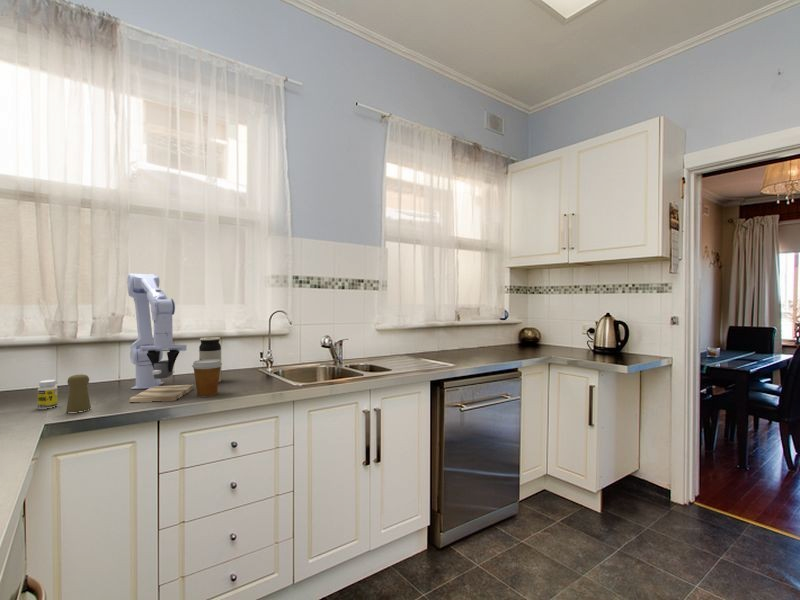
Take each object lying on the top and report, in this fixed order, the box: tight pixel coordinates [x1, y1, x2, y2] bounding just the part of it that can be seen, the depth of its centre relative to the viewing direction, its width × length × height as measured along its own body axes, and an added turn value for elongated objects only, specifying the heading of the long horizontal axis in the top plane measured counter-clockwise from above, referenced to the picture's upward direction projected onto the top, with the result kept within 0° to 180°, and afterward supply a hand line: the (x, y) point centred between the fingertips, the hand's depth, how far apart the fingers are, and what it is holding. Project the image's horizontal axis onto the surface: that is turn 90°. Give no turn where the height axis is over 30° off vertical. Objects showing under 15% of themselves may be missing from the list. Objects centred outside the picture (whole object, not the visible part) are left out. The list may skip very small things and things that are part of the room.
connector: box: [152, 359, 174, 380], centre depth 140 cm, size 11×4×5 cm, turn 10°
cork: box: [65, 373, 92, 413], centre depth 123 cm, size 6×6×11 cm
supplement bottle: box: [37, 379, 59, 410], centre depth 127 cm, size 5×5×8 cm
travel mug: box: [198, 336, 222, 383], centre depth 163 cm, size 8×8×18 cm
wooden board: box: [129, 384, 195, 403], centre depth 142 cm, size 18×14×2 cm
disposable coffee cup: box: [191, 359, 223, 397], centre depth 142 cm, size 10×10×12 cm
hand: (163, 371), depth 142 cm, fingers closed on connector, 4 cm apart
